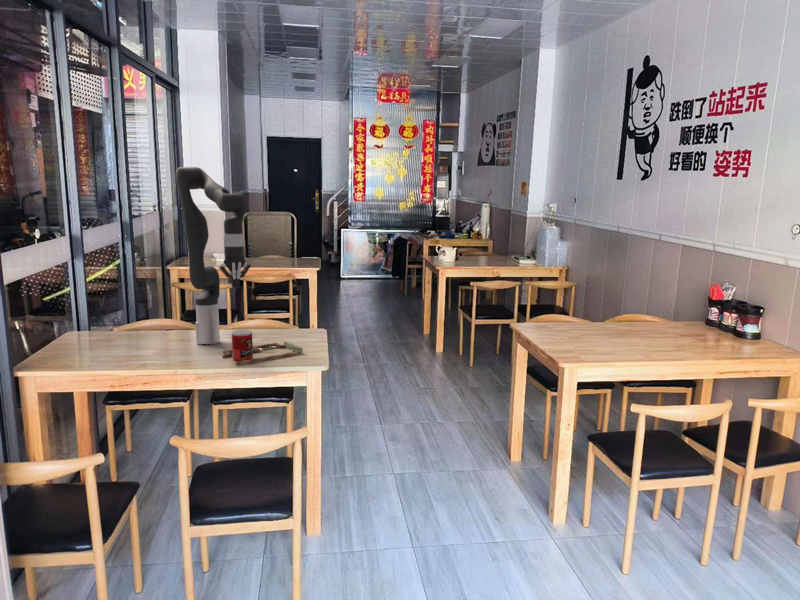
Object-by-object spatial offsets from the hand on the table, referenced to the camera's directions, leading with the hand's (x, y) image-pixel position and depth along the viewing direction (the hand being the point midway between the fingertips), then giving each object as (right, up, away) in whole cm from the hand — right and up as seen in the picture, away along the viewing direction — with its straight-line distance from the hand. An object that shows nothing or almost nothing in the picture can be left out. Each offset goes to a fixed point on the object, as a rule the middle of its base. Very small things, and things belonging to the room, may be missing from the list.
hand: (235, 288), depth 240 cm
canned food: (+4, -28, -3) cm, 29 cm away
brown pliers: (+9, -27, +4) cm, 28 cm away
